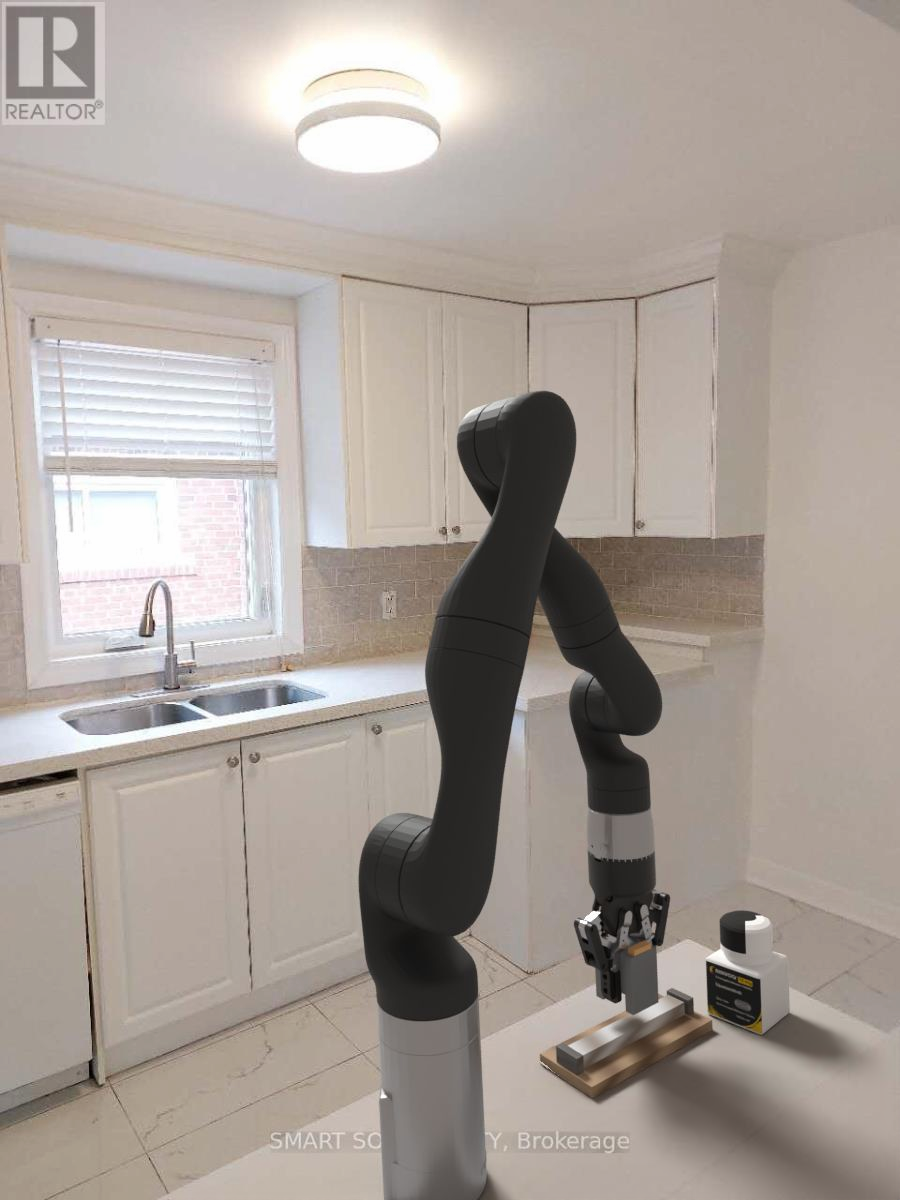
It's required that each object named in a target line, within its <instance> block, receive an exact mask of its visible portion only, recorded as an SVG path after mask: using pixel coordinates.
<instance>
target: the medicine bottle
mask: <svg viewBox="0 0 900 1200" xmlns="http://www.w3.org/2000/svg"><path fill="white" fill-rule="evenodd" d="M773 936H774V935H773V923H772V921H770V919H769V918H768V917H766V916H765V915H762V914H760V913H758V912H755V911H751V910H733V911H729V912H726V913H724V914H723V915H722V916H721V917H720V918H719V942H720V944H719V946H720V948H719V949H718V950H716V951H715V952H713V953H712V954H709V956H707V957H706V958H705V969H706V972H705V974H706V997H707V998H706V1001H707V1013H708V1015H710V1016H713V1017H715V1018H717V1019H720V1020H722V1021H724V1022H727V1023H730V1024H732V1025H734V1026H736V1027H740V1028H742V1029H744V1030H747V1031H748V1032H749V1031H750V1032H753V1033H754V1034H757V1035H759V1036H762V1035H764V1034H765V1033H766V1032H767V1031H769V1030H770V1029H771V1028H772V1027H773V1026H775V1025H776V1024H777V1023H778V1022H779V1021H781V1020H782V1019H783V1018H784V1017H787V1015H788V1014H789V1013H790V1010H791V1007H790V1006H791V1003H790V977H789V976H790V975H789V972H790V970H789V958H788V956H787V955H785V954H782V953H779V952H776V951H774V942H773V941H774V940H773V939H774V937H773Z"/></svg>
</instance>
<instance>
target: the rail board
mask: <svg viewBox="0 0 900 1200" xmlns="http://www.w3.org/2000/svg"><path fill="white" fill-rule="evenodd" d="M658 1001H659V1002H658V1003H656V1004H654V1005H653V1006H651V1007H649V1008H647V1009H645V1010H643V1011H641V1012H639V1013H637V1014H635V1015H632V1014H630V1013H628V1012H626V1010H624V1011H622V1012H620V1013H618V1014H616V1015H614V1016H612V1017H610V1018H608V1019H606V1020H604V1021H602V1022H599V1023H598V1024H596V1025H594V1026H592V1027H590V1028H588V1029H586V1030H584V1031H582V1032H580V1033H578V1034H576V1035H574V1036H571V1037H570V1038H568V1039H566V1040H564V1041H562V1042H560V1043H558V1044H556V1045H554V1046H552V1047H550V1048H548V1049H546V1050H545V1051H542V1052H540V1053H539V1062H540V1061H541V1062H543V1063H544V1064H545V1065H547V1066H548V1067H549V1068H550V1069H551V1070H552V1071H553V1072H555V1073H556V1074H557V1075H556V1074H555V1073H554V1074H555V1075H556V1076H558V1075H559V1076H560V1078H561V1079H562V1080H563V1081H566V1083H568V1084H570V1085H571V1086H573V1088H575V1089H577V1090H579V1091H580V1092H582V1093H583V1094H584V1095H586V1096H588V1097H589V1098H591V1099H594V1098H596V1097H597V1096H600V1095H601V1094H602V1093H605V1092H606V1091H607V1090H610V1089H611V1088H613V1087H615V1086H616V1085H618V1084H620V1083H622V1082H623V1081H625V1080H627V1079H629V1078H631V1077H633V1076H634V1075H637V1074H638V1073H639V1072H642V1071H643V1070H644V1069H647V1068H648V1067H650V1066H651V1065H653V1064H655V1063H657V1062H658V1061H660V1060H663V1059H664V1058H665V1057H668V1056H670V1054H672V1053H674V1052H676V1051H678V1050H679V1049H682V1048H683V1047H686V1046H687V1045H688V1044H691V1043H692V1042H694V1041H695V1040H697V1039H699V1038H701V1037H702V1036H705V1035H706V1034H709V1032H711V1031H712V1030H713V1029H714V1028H713V1019H711V1018H710V1017H707V1016H705V1015H704V1014H701V1013H699V1012H697V1011H695V1008H694V1007H695V1006H694V1005H695V1003H694V997H692V996H690V995H688V994H686V993H684V992H682V991H680V990H678V989H676V988H673V987H671V988H668V989H666V995H665V996H664V995H662V994H660V993H658ZM552 1071H551V1072H552ZM553 1072H552V1073H553ZM559 1076H558V1077H559Z"/></svg>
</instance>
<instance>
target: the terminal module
mask: <svg viewBox="0 0 900 1200" xmlns="http://www.w3.org/2000/svg"><path fill="white" fill-rule="evenodd" d="M608 936H609V938H611V939H613V940H616V938H615V937H613V936H611V935H608ZM657 950H658V949H657V946H656V947H655V946H653V945H651V943H649V942H647V941H645V940H644V941H642V942H641V941H640V940H639V939H637V938H634V937H629V936H628V937H627V944H626V949H625V950H624V951H622V953H620V967H619V970H620V977H621V993H622V995H624V999H625V1003H624V1004H625V1011H626V1012H628V1013H630V1014H632V1015H635V1014H637V1013H639V1012H641V1011H643V1010H645V1009H647V1008H649V1007H651V1006H653V1005H654V1004H656V1003H658V1002H659V1001H658V994H659V982H658V980H659V979H658V960H657V959H658V955H657V953H658V952H657ZM607 952H608V955H607V957H609V958H610V957H611V949H610V948H607ZM594 970H595V971H594V972H595V995H596V997H597V998H599V999H600V1000H601V999H602V1000H607V999H606V998H605V997H604V996H603V995H602V992H601V976H600V971H599V970H598V969H596V968H594Z"/></svg>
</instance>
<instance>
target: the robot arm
mask: <svg viewBox="0 0 900 1200" xmlns="http://www.w3.org/2000/svg"><path fill="white" fill-rule="evenodd" d="M458 426H459V427H458V430H457V435H456V449H457V450H456V451H457V456H458V459H459V462H460V465H461V468H462V469H463V472H464V474H465V476H466V477H467V480H468V481H469V483H470V485H471V487H472V489H473V491H475V493H476V495H477V497H478V499H479V500H480V501H481V504H482V505H483V507H484V508H485V509H486V511H487V513H488V515H489V516H490V518H491V519H490V521H489V523H488V525H487V527H486V528H485V531H484V533H483V534H482V536H481V537H480V538H479V540H478V541H477V543H476V544H475V546H474V547H473V549H472V550H471V552H470V553H469V554H468V556H467V557H466V559H465V560H464V561H463V563H462V564H461V566H460V568H458V570H457V572H456V573H455V575H454V576H453V578H452V579H451V580H450V582H449V584H448V585H447V588H446V589H445V591H444V592H443V594H442V597H441V599H440V602H439V604H438V608H437V611H436V614H435V619H434V623H433V627H432V631H431V636H430V641H429V646H428V649H427V654H426V659H425V666H424V678H425V686H426V692H427V696H428V702H429V705H430V710H431V713H432V714H431V715H432V717H433V721H434V724H435V725H434V726H435V727H436V728H435V729H436V733H437V737H438V741H439V748H440V749H439V750H440V758H441V759H440V762H441V763H440V767H441V769H440V777H439V779H440V780H439V787H438V791H437V792H438V793H437V797H436V803H435V808H434V813H433V817H432V818H430V817H428V816H427V817H426V816H423V815H419V814H415V813H410V812H397V813H393V814H390V815H387V816H386V817H383V818H382V819H381V820H380V821H379V822H377V823H376V824H375V826H374V827H373V828H372V829H371V831H370V832H369V834H368V835H367V837H366V840H365V841H364V844H363V847H362V851H361V854H360V859H359V864H358V865H359V866H358V877H357V879H358V897H359V898H358V899H359V900H358V901H359V909H360V919H361V927H362V928H361V929H362V930H361V931H362V937H363V948H364V949H363V950H364V956H365V957H364V958H365V964H366V966H367V969H368V971H369V974H370V976H371V978H372V980H373V983H374V985H375V994H376V995H375V996H376V1011H377V1012H376V1013H377V1028H378V1029H377V1030H378V1050H379V1052H378V1053H379V1069H380V1070H379V1071H380V1090H379V1097H378V1098H379V1099H378V1109H379V1128H380V1130H379V1131H380V1148H381V1150H380V1151H381V1165H382V1170H381V1171H382V1186H383V1187H382V1188H383V1200H479V1198H480V1197H481V1195H482V1194H483V1192H484V1190H485V1188H486V1186H487V1177H488V1175H487V1174H488V1173H487V1172H488V1170H487V1163H488V1162H487V1149H486V1127H485V1109H484V1108H485V1107H484V1084H483V1066H482V1064H483V1062H482V1043H481V1040H482V1039H481V1022H480V1021H481V1020H480V1019H481V1018H480V1001H479V977H478V975H479V974H478V968H477V965H476V962H475V959H474V958H473V956H472V955H471V954H470V953H469V951H467V949H466V948H465V947H464V946H463V945H462V944H460V942H459V941H458V940H457V939H456V938H455V937H456V936H459V935H460V934H463V933H465V932H466V931H467V930H469V929H470V927H472V926H473V925H474V924H475V922H476V921H477V919H478V918H479V917H480V915H481V913H482V912H483V908H484V907H485V904H486V902H487V899H488V896H489V893H490V889H491V884H492V880H493V876H494V869H495V868H494V867H495V860H496V853H497V844H498V836H499V835H498V834H499V825H500V824H499V823H500V815H501V813H500V812H501V802H502V795H503V785H504V778H505V771H506V770H505V769H506V763H507V756H508V751H509V745H510V739H511V733H512V727H513V721H514V716H515V710H516V706H517V701H518V698H519V697H518V695H519V691H520V686H521V683H522V679H523V676H524V672H525V667H526V662H527V656H528V652H529V651H528V650H529V646H530V640H531V637H532V636H531V635H532V630H533V624H534V623H533V622H534V618H535V610H536V605H537V601H539V603H540V605H541V607H542V610H543V612H544V615H545V617H546V620H547V622H548V625H549V627H550V630H551V632H552V633H553V637H554V639H555V641H556V644H557V646H558V649H559V651H560V653H561V654H562V655H561V656H562V657H563V659H564V660H565V661H566V662H567V663H568V664H569V665H570V666H573V667H575V668H577V669H580V670H582V673H580V674H579V675H578V676H577V678H575V681H574V682H573V683H572V687H571V689H570V693H569V699H568V700H569V701H568V710H569V718H570V720H571V721H570V723H571V725H572V729H573V733H574V735H575V736H574V737H575V739H576V743H577V746H578V749H579V753H580V757H581V758H582V762H583V764H584V767H585V771H586V789H587V790H586V791H587V817H586V844H587V866H588V868H587V869H588V884H589V886H590V888H591V890H592V892H593V895H594V899H593V903H592V907H591V912H590V914H588V915H587V916H586V917H585V918H584V919H583V918H582V917H576V918H575V919H574V921H573V927H574V930H575V934H576V937H577V940H578V943H579V947H580V950H581V953H582V956H583V960H584V963H585V964H586V965H587V966H590V967H592V968H594V969H595V968H596V969H598V970H599V971H600V976H601V992H602V995H603V996H604V997H605V998H606V999H605V1000H606V1001H609V1002H612V1003H613V1004H618V1003H621V1002H622V1000H623V998H622V995H623V993H621V977H620V970H619V967H620V953H622V951H624V950H625V949H626V944H627V937H628V936H629V937H634V938H637V939H639V940H640V941H641V942H642V941H644V940H645V941H647V942H649V943H651V945H653V946H655V947H656V948H657V947H662V945H663V944H664V940H665V933H666V928H667V921H668V915H669V909H670V902H671V896H670V894H669V893H665V892H663V891H661V890H657V889H655V888H656V886H657V871H656V848H655V847H656V846H655V826H654V825H655V824H654V819H653V815H652V806H651V804H652V803H651V802H652V801H651V779H650V769H649V764H648V762H647V760H646V759H645V758H644V757H643V756H642V755H640V754H638V753H636V752H634V751H632V750H631V749H629V748H628V747H627V746H626V745H625V744H624V743H623V740H622V738H621V735H622V736H629V737H641V736H645V735H647V734H649V733H651V732H652V731H653V730H654V729H655V728H656V727H657V725H658V724H659V722H660V719H661V718H662V712H663V697H662V693H661V688H660V686H659V683H658V681H657V679H656V677H655V676H654V674H653V672H652V671H651V669H650V668H649V666H648V665H647V664H646V662H645V661H644V659H643V657H641V655H640V653H638V651H637V649H636V648H635V647H634V645H633V644H632V643H631V641H630V640H629V639H628V638H627V637H626V636H625V634H624V632H623V631H622V629H621V626H620V624H619V623H620V622H619V621H618V618H617V615H616V612H615V610H614V606H613V605H612V602H611V600H610V597H609V594H608V592H607V590H606V587H605V586H604V582H603V581H602V580H601V578H600V576H599V575H598V573H597V572H596V571H595V569H594V567H593V566H592V565H591V564H590V563H589V562H588V561H587V559H585V558H584V557H583V555H582V554H581V553H580V552H579V551H578V550H577V549H576V548H575V547H574V546H573V545H572V544H571V543H570V542H569V541H568V540H567V539H566V538H565V537H564V536H563V535H562V533H560V532H559V531H558V529H557V528H556V523H557V520H558V517H559V513H560V510H561V507H562V504H563V502H564V498H565V494H566V491H567V488H568V485H569V482H570V479H571V474H572V470H573V467H574V463H575V458H576V453H577V452H576V451H577V427H576V421H575V418H574V415H573V413H572V409H571V408H570V406H569V404H568V403H567V401H566V400H565V399H564V398H563V397H562V396H561V395H559V394H557V393H555V392H553V391H549V390H536V391H528V392H524V393H521V394H518V395H514V396H510V397H507V398H502V399H499V400H495V401H493V402H489V403H486V404H483V405H480V406H478V407H474V408H473V409H471V410H469V412H467V413H466V415H465V416H463V418H462V420H461V422H460V423H459V425H458ZM653 924H655V931H654V932H653V930H652V928H653ZM609 935H611V936H613V937H615V938H616V940H613V939H611V938H609ZM607 948H610V949H611V957H610V958H609V957H607V955H608V952H607Z"/></svg>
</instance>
